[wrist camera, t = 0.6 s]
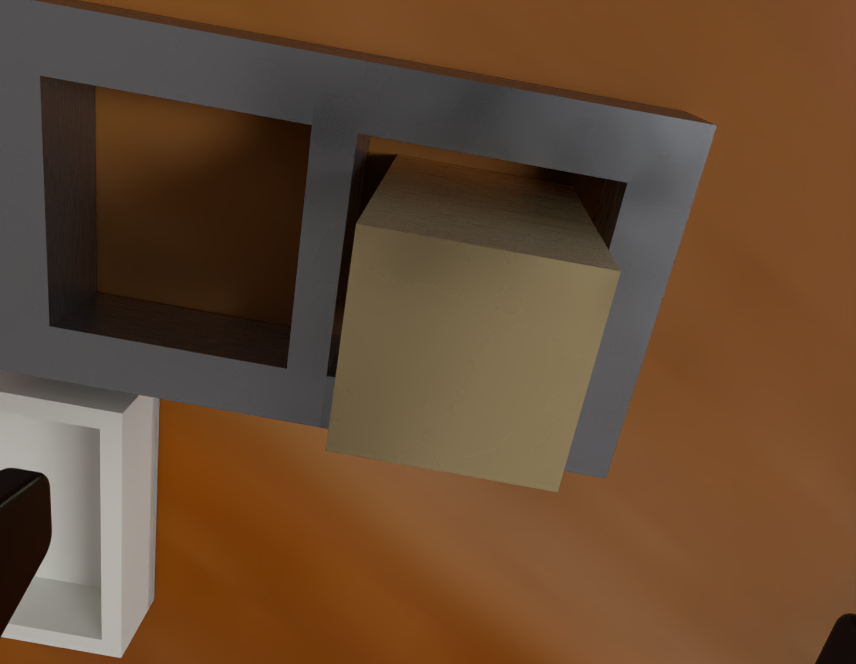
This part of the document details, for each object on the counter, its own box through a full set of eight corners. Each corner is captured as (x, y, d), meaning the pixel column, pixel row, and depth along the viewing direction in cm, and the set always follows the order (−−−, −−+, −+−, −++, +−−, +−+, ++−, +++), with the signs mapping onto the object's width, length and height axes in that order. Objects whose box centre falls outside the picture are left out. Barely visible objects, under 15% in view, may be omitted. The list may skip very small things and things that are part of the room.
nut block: (532, 344, 21) (557, 492, 14) (373, 316, 21) (325, 450, 14) (571, 185, 19) (620, 271, 12) (398, 154, 19) (356, 223, 12)
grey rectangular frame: (592, 429, 21) (605, 478, 19) (45, 331, 21) (-7, 368, 19) (686, 111, 18) (717, 125, 16) (32, -8, 18) (-35, -12, 16)
